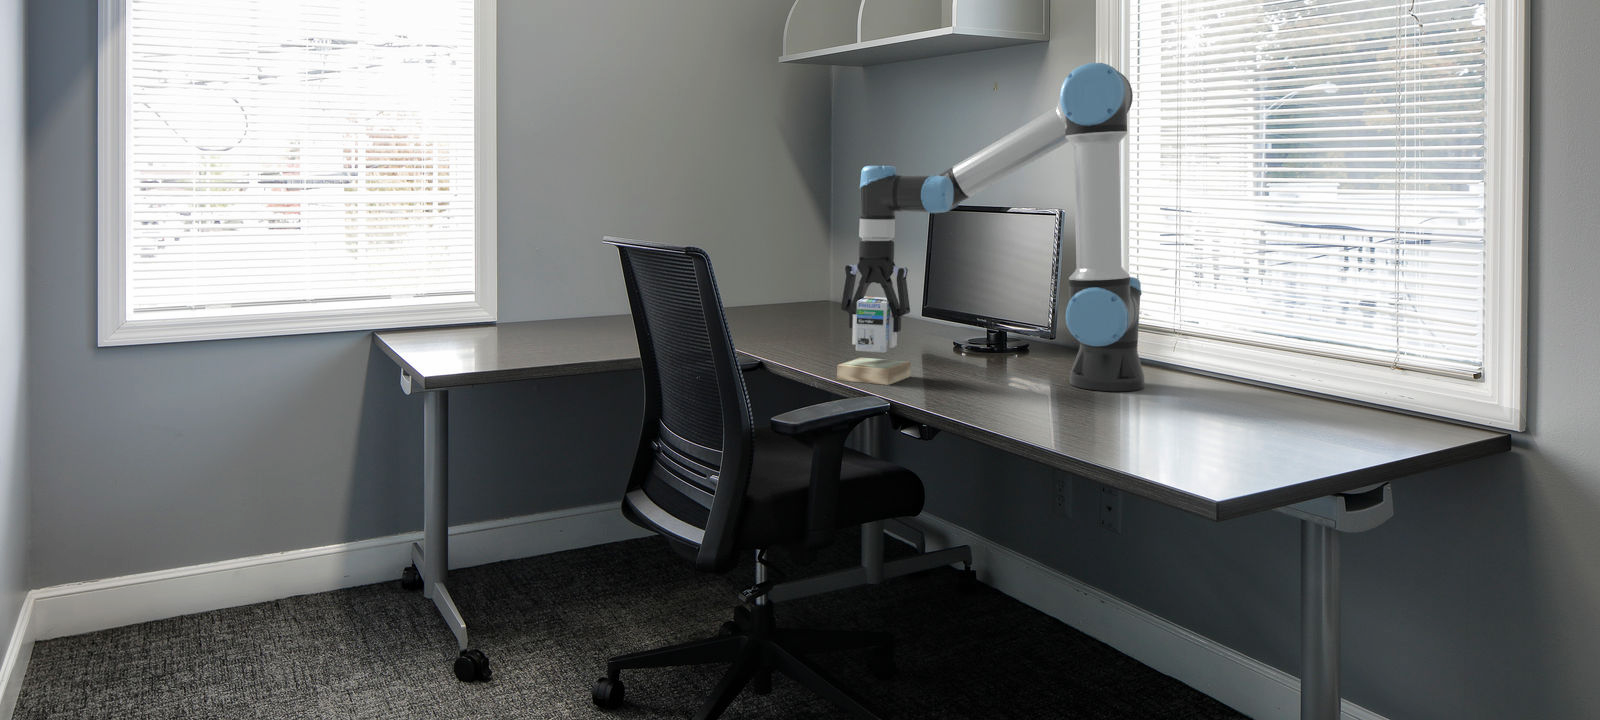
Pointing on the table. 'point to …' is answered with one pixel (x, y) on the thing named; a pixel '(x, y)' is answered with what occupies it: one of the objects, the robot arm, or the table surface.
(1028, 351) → the table surface
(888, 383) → the block
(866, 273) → the robot arm
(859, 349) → the light bulb box
